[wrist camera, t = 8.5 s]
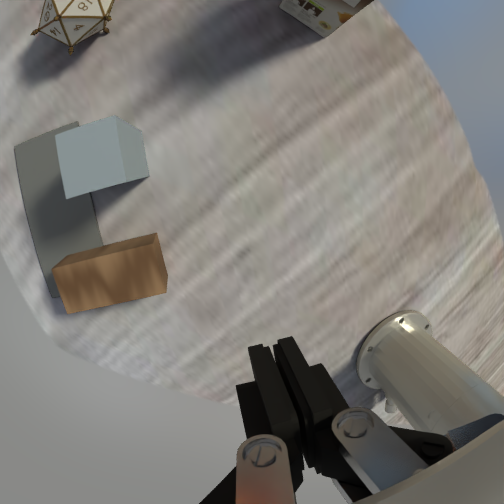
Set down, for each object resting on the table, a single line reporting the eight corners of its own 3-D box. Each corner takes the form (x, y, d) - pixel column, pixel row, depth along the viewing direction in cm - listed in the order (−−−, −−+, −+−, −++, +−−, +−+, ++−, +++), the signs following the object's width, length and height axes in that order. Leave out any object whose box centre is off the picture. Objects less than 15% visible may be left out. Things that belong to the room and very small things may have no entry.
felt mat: (114, 284, 30) (114, 285, 30) (53, 297, 29) (52, 298, 29) (78, 121, 25) (77, 121, 25) (15, 146, 24) (14, 146, 24)
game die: (102, 48, 26) (68, 80, 20) (47, 19, 21) (0, 46, 15) (149, -14, 21) (124, -5, 15) (89, -45, 16) (46, -42, 10)
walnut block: (166, 292, 27) (67, 314, 25) (167, 275, 31) (80, 295, 29) (153, 243, 25) (51, 269, 24) (156, 232, 29) (66, 255, 28)
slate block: (149, 176, 28) (126, 182, 18) (106, 187, 27) (66, 199, 18) (141, 130, 27) (114, 115, 17) (97, 142, 26) (54, 135, 17)
